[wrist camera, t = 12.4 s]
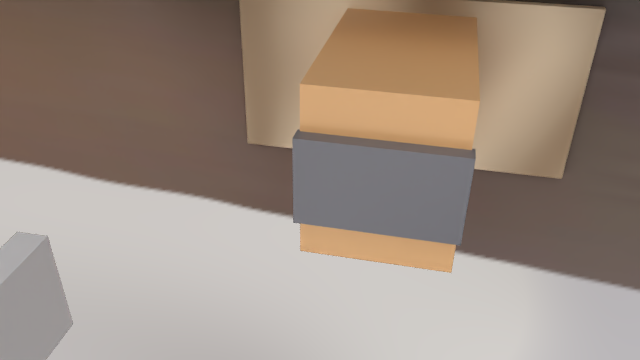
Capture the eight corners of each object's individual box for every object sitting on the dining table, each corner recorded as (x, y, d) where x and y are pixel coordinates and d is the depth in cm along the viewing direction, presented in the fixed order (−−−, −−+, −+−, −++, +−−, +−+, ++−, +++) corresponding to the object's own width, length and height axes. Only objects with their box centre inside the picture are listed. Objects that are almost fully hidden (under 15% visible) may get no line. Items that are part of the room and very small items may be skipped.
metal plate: (250, 139, 28) (247, 143, 28) (241, -17, 24) (238, -15, 24) (560, 173, 26) (561, 178, 25) (603, 6, 22) (606, 9, 22)
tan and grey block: (340, 141, 27) (293, 259, 20) (345, 7, 24) (291, 90, 16) (458, 155, 26) (453, 283, 19) (479, 17, 23) (484, 109, 16)
